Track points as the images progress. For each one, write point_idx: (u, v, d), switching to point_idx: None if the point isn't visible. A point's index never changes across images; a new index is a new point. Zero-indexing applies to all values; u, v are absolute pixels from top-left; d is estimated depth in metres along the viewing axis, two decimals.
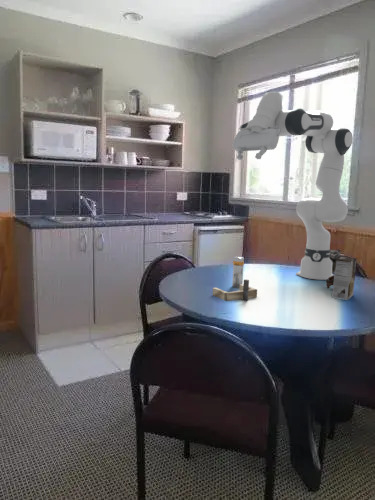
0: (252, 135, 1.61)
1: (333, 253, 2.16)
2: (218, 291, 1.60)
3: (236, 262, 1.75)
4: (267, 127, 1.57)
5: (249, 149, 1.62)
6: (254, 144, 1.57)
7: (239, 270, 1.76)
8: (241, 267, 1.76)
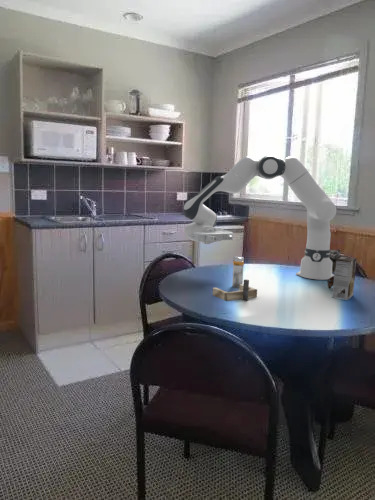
0: None
1: (333, 253, 2.16)
2: (218, 291, 1.60)
3: (236, 262, 1.75)
4: None
5: (221, 234, 1.92)
6: None
7: (239, 270, 1.76)
8: (241, 267, 1.76)
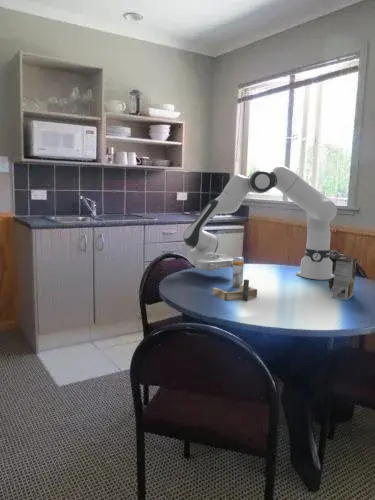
0: None
1: (333, 253, 2.16)
2: (218, 291, 1.60)
3: (236, 262, 1.75)
4: None
5: (224, 261, 1.91)
6: None
7: (239, 270, 1.76)
8: (241, 267, 1.76)
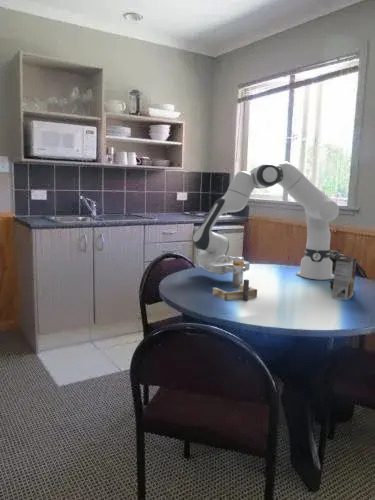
0: None
1: (333, 253, 2.16)
2: (218, 291, 1.60)
3: (236, 262, 1.75)
4: None
5: None
6: None
7: (239, 270, 1.76)
8: (241, 267, 1.76)
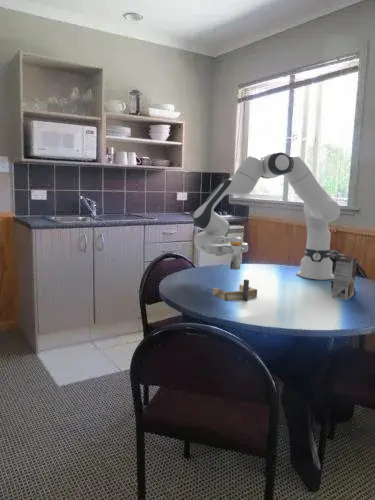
0: None
1: (333, 253, 2.16)
2: (218, 291, 1.60)
3: (234, 242, 1.67)
4: None
5: None
6: None
7: (237, 250, 1.67)
8: (239, 248, 1.67)
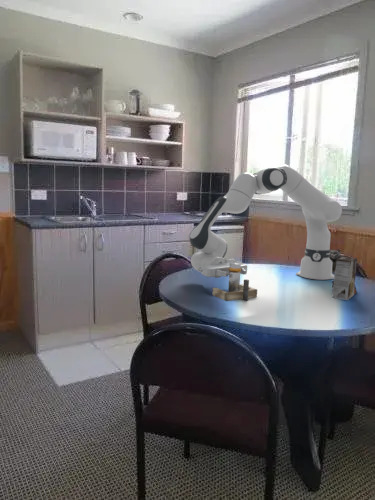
0: None
1: (333, 253, 2.16)
2: (218, 291, 1.60)
3: (232, 269, 1.61)
4: None
5: None
6: None
7: (236, 277, 1.61)
8: (238, 274, 1.61)
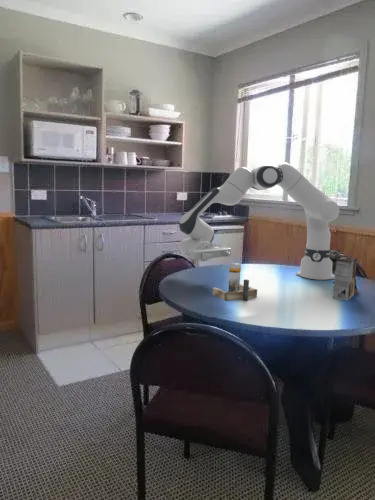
0: None
1: (333, 253, 2.16)
2: (218, 291, 1.60)
3: (232, 269, 1.61)
4: None
5: (218, 251, 1.78)
6: None
7: (236, 277, 1.61)
8: (238, 274, 1.61)
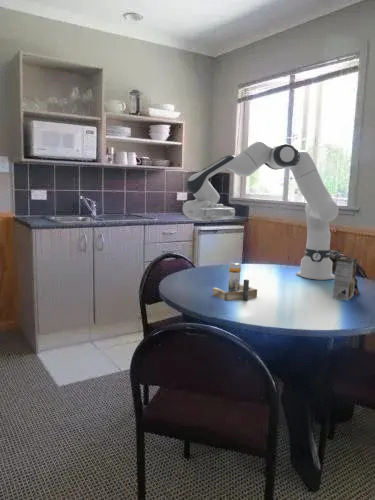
0: None
1: (333, 253, 2.16)
2: (218, 291, 1.60)
3: (232, 269, 1.61)
4: None
5: (221, 210, 1.77)
6: (212, 216, 1.76)
7: (236, 277, 1.61)
8: (238, 274, 1.61)
